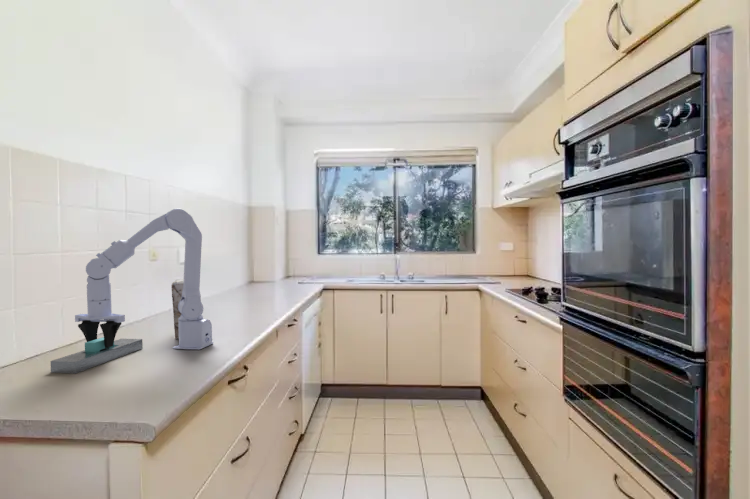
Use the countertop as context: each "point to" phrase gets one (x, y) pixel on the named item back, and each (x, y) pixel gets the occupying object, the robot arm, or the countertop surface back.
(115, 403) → the countertop surface
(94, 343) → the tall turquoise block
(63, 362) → the rail
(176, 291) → the stone block
